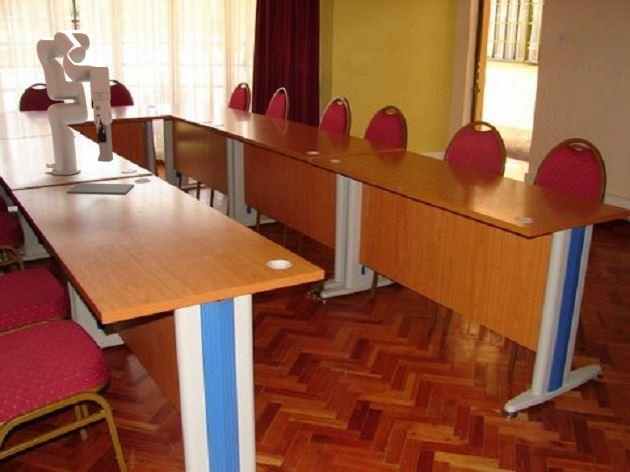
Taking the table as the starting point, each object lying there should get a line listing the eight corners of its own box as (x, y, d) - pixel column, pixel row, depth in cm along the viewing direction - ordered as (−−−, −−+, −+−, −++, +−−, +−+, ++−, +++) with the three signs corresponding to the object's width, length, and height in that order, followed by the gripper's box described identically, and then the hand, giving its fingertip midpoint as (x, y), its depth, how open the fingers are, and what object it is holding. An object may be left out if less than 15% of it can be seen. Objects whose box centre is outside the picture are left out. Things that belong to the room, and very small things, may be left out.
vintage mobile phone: (101, 159, 281) (97, 99, 273) (113, 160, 280) (109, 99, 272) (97, 161, 278) (93, 100, 269) (109, 162, 277) (105, 101, 269)
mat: (67, 193, 277) (67, 191, 277) (78, 184, 290) (78, 183, 290) (125, 194, 277) (125, 192, 277) (133, 186, 291) (133, 184, 290)
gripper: (104, 99, 263) (107, 145, 268) (115, 94, 279) (118, 137, 284) (84, 98, 263) (88, 144, 268) (97, 93, 278) (101, 137, 284)
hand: (104, 140), depth 276 cm, fingers closed on vintage mobile phone, 4 cm apart
